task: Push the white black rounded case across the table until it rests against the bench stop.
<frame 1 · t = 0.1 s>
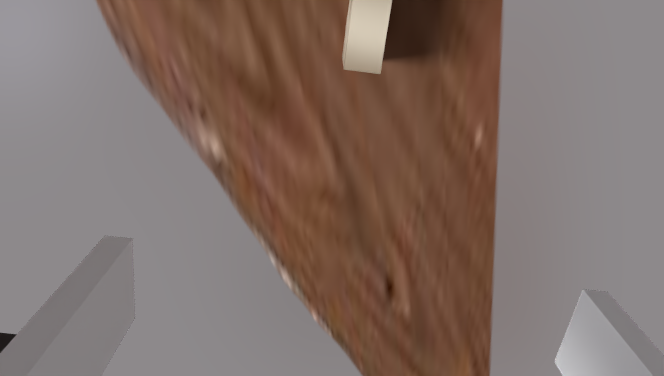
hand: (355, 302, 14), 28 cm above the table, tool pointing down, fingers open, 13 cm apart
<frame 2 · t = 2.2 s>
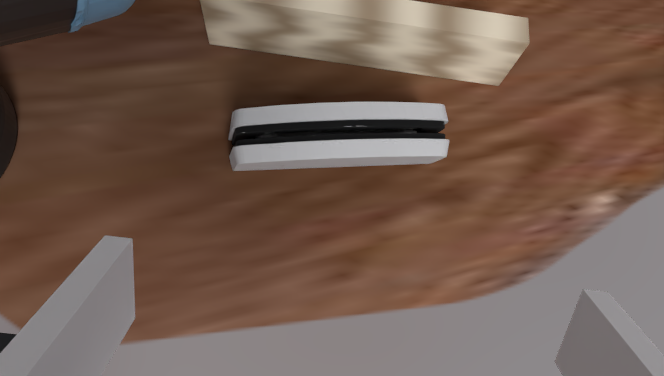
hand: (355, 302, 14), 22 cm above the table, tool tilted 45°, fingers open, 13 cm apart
white black rounded case: (332, 156, 41), on the table
bench stop: (357, 53, 44), on the table
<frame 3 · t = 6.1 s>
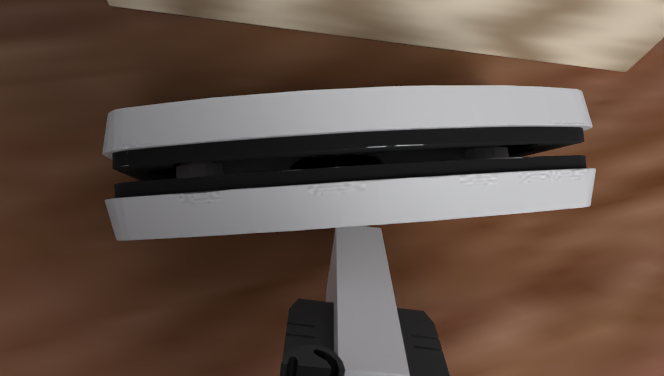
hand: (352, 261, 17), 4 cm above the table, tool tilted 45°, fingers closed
white black rounded case: (335, 194, 22), on the table, touching gripper
bench stop: (375, 19, 25), on the table
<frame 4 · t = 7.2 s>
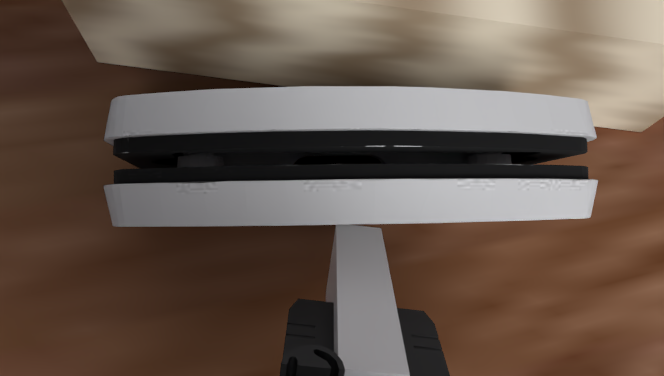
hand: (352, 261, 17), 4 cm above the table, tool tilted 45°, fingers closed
white black rounded case: (337, 194, 22), on the table, touching bench stop, gripper
bench stop: (378, 76, 24), on the table
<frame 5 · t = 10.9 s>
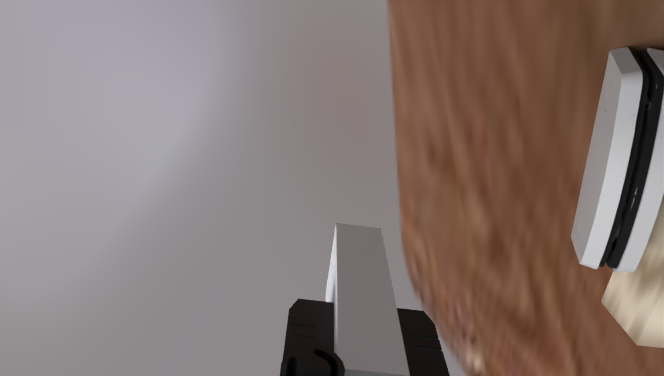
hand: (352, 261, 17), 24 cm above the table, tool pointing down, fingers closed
white black rounded case: (600, 149, 41), on the table
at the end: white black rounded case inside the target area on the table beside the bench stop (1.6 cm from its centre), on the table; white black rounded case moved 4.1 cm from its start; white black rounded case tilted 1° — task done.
